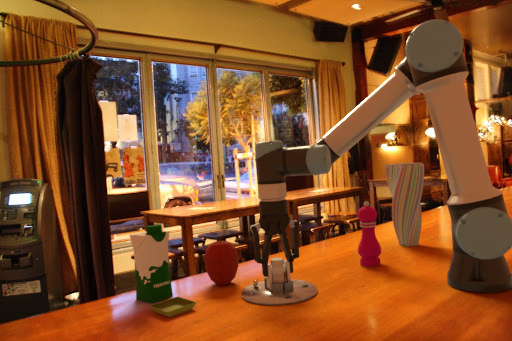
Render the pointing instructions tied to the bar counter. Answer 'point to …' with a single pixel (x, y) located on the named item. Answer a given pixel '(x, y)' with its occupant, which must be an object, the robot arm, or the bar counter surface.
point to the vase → (406, 200)
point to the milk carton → (152, 264)
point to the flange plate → (279, 299)
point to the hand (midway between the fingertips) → (279, 286)
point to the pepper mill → (368, 237)
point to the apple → (221, 262)
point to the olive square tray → (173, 306)
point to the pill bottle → (278, 270)
